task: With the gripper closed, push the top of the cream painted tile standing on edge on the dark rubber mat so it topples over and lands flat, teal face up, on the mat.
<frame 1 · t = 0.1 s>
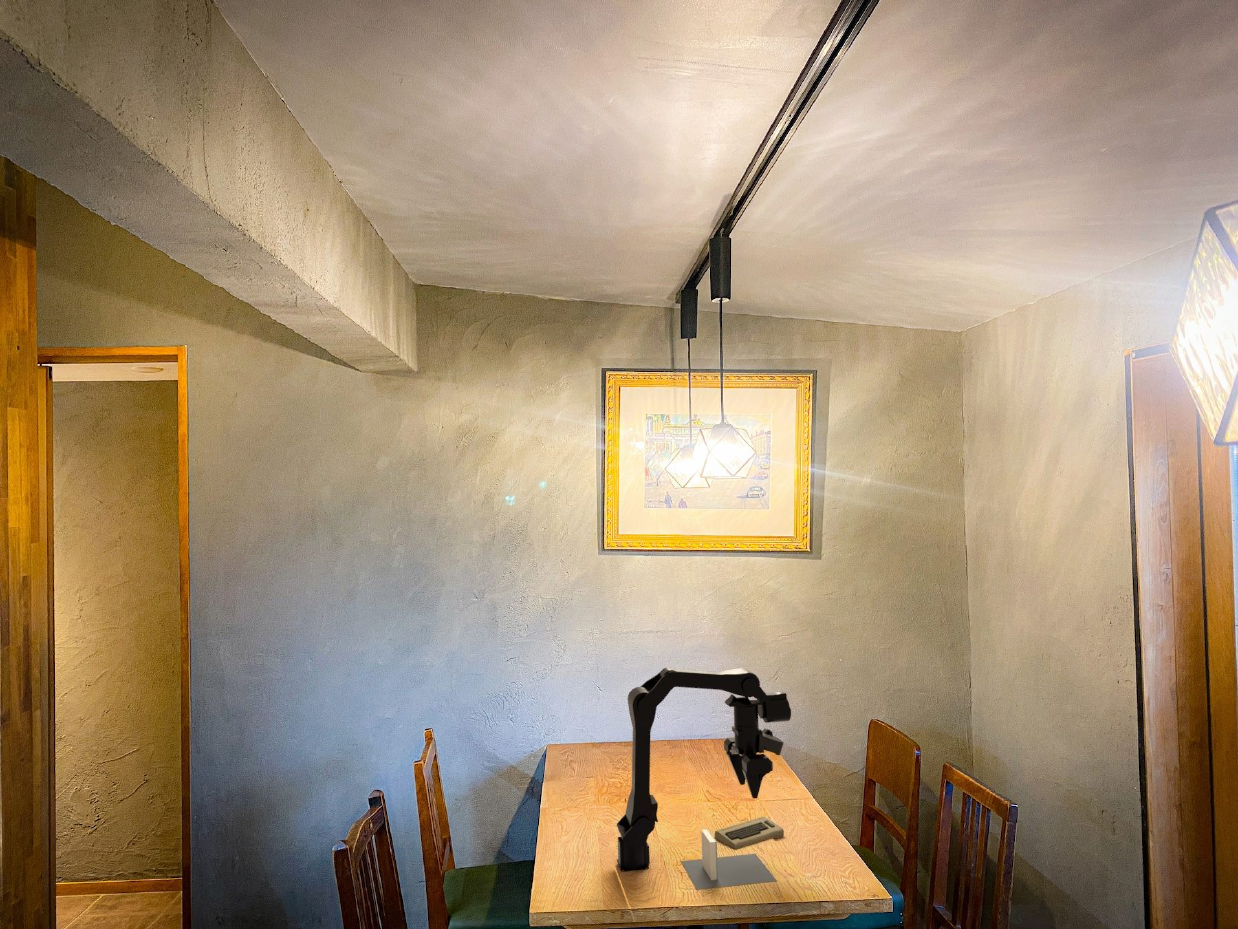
hand: (748, 791, 184), 15 cm above the table, fingers open, 9 cm apart
computer: (749, 841, 192), on the table
mat: (727, 873, 174), on the table
tile: (710, 872, 173), point 1 cm above the table, touching mat
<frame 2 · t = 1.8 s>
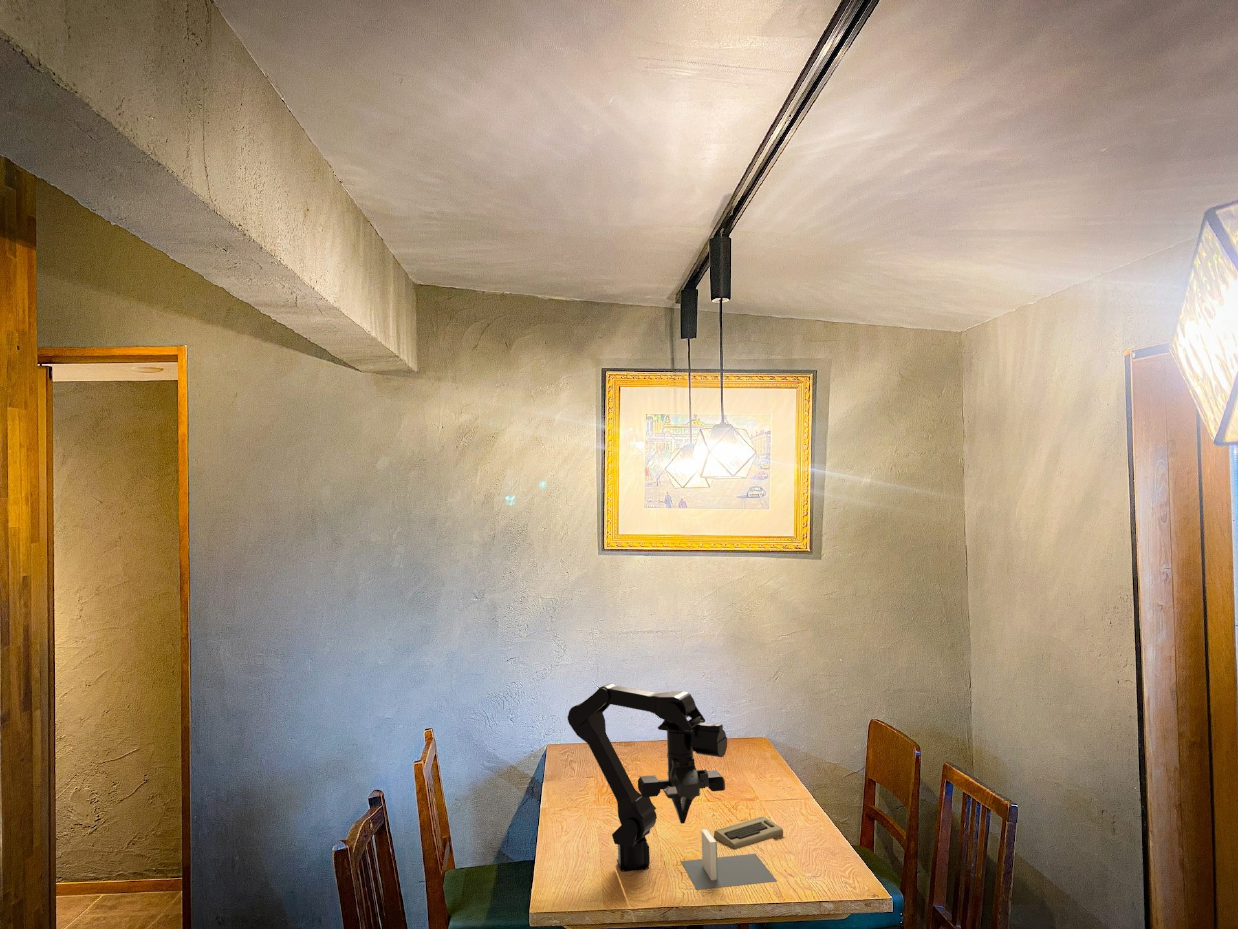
hand: (682, 823, 173), 12 cm above the table, fingers closed
nothing on the table moved.
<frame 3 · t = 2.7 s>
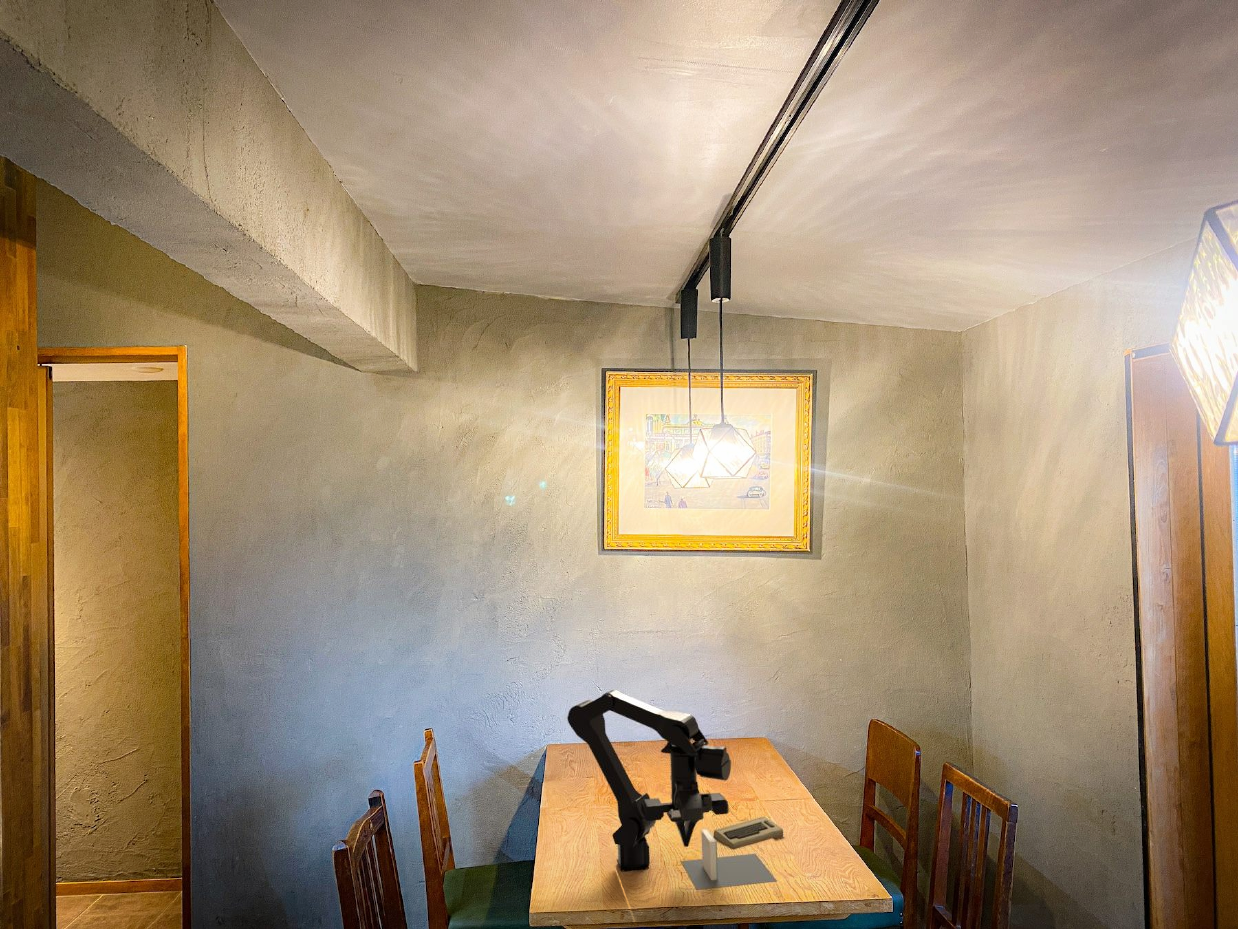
hand: (685, 846, 173), 7 cm above the table, fingers closed
nothing on the table moved.
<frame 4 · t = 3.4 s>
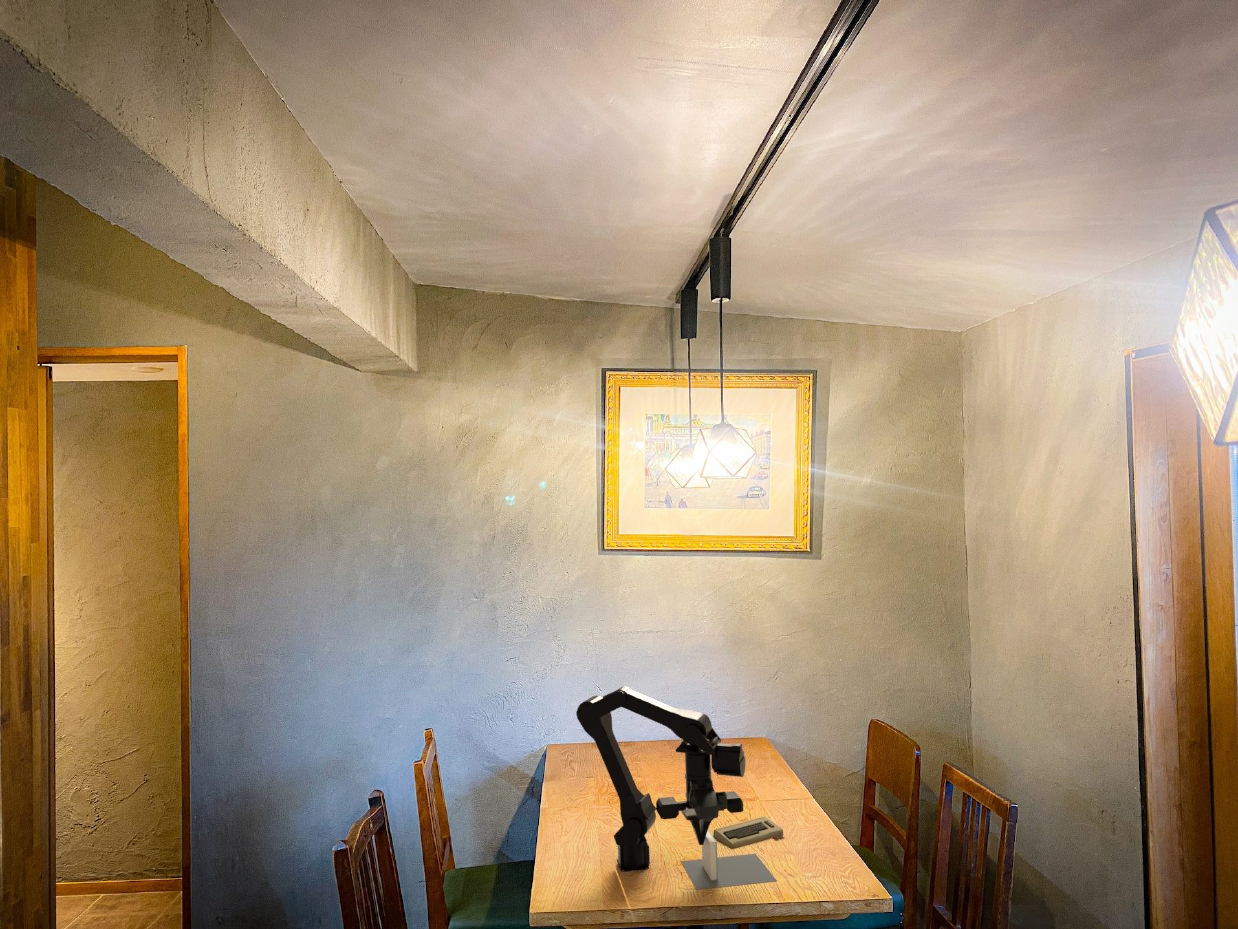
hand: (700, 844, 173), 7 cm above the table, fingers closed
tile: (710, 872, 173), point 1 cm above the table, touching gripper, mat
everything else where it was.
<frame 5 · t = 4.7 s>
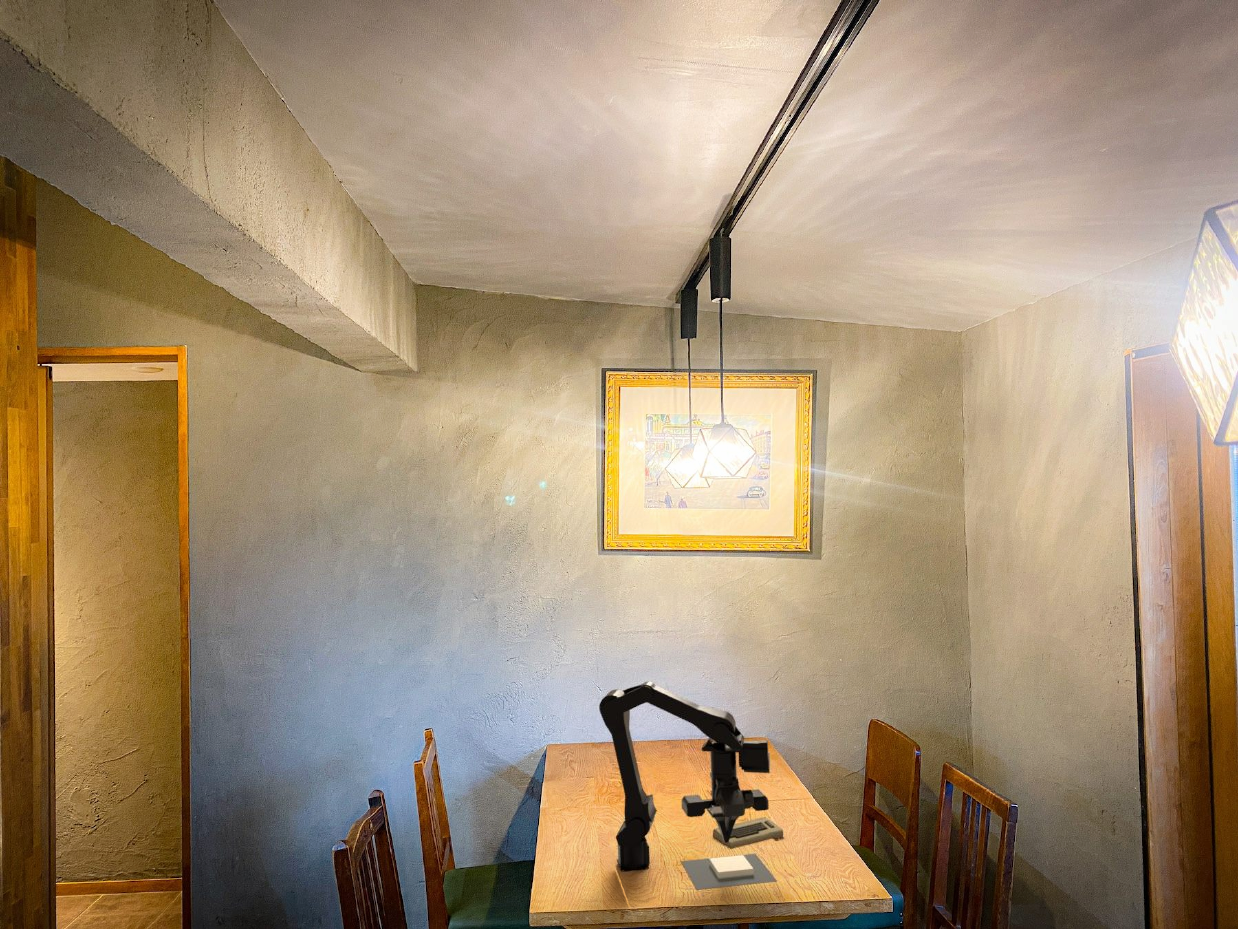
hand: (726, 842, 174), 7 cm above the table, fingers closed
tile: (713, 868, 173), point 1 cm above the table, tilted 90°, touching mat
everything else where it was.
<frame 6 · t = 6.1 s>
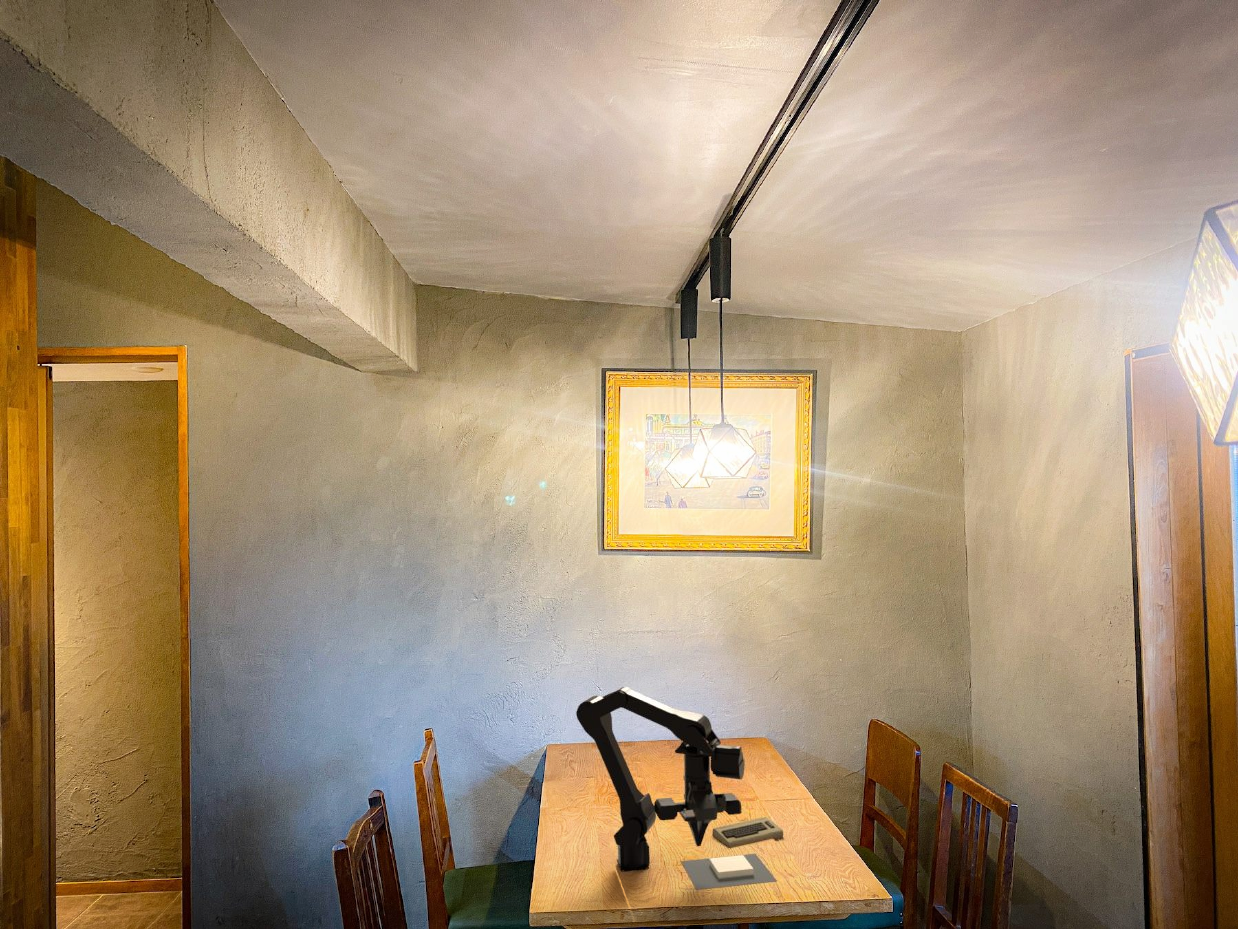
hand: (698, 845, 173), 7 cm above the table, fingers closed
nothing on the table moved.
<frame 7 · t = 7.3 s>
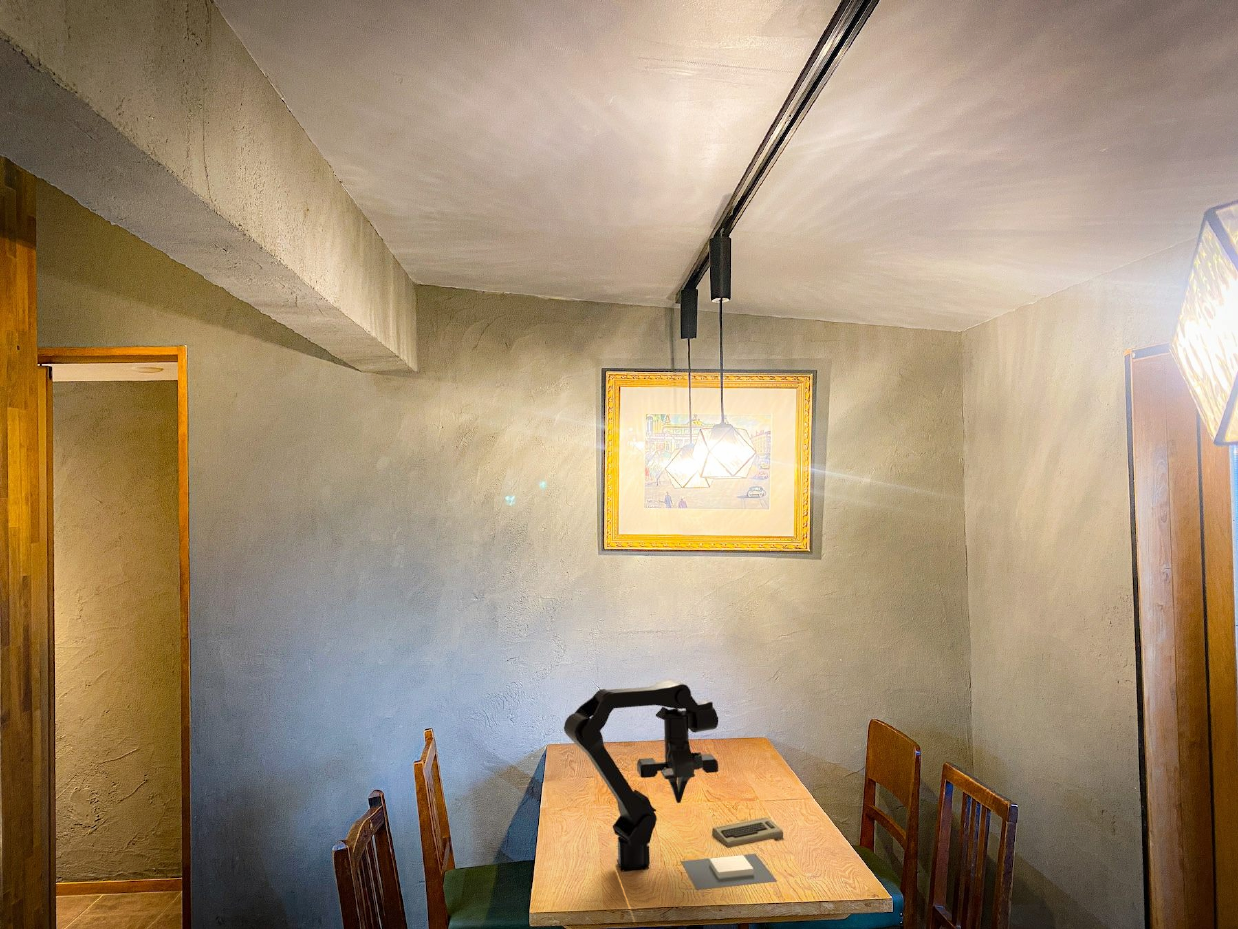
hand: (678, 802, 185), 12 cm above the table, fingers closed
nothing on the table moved.
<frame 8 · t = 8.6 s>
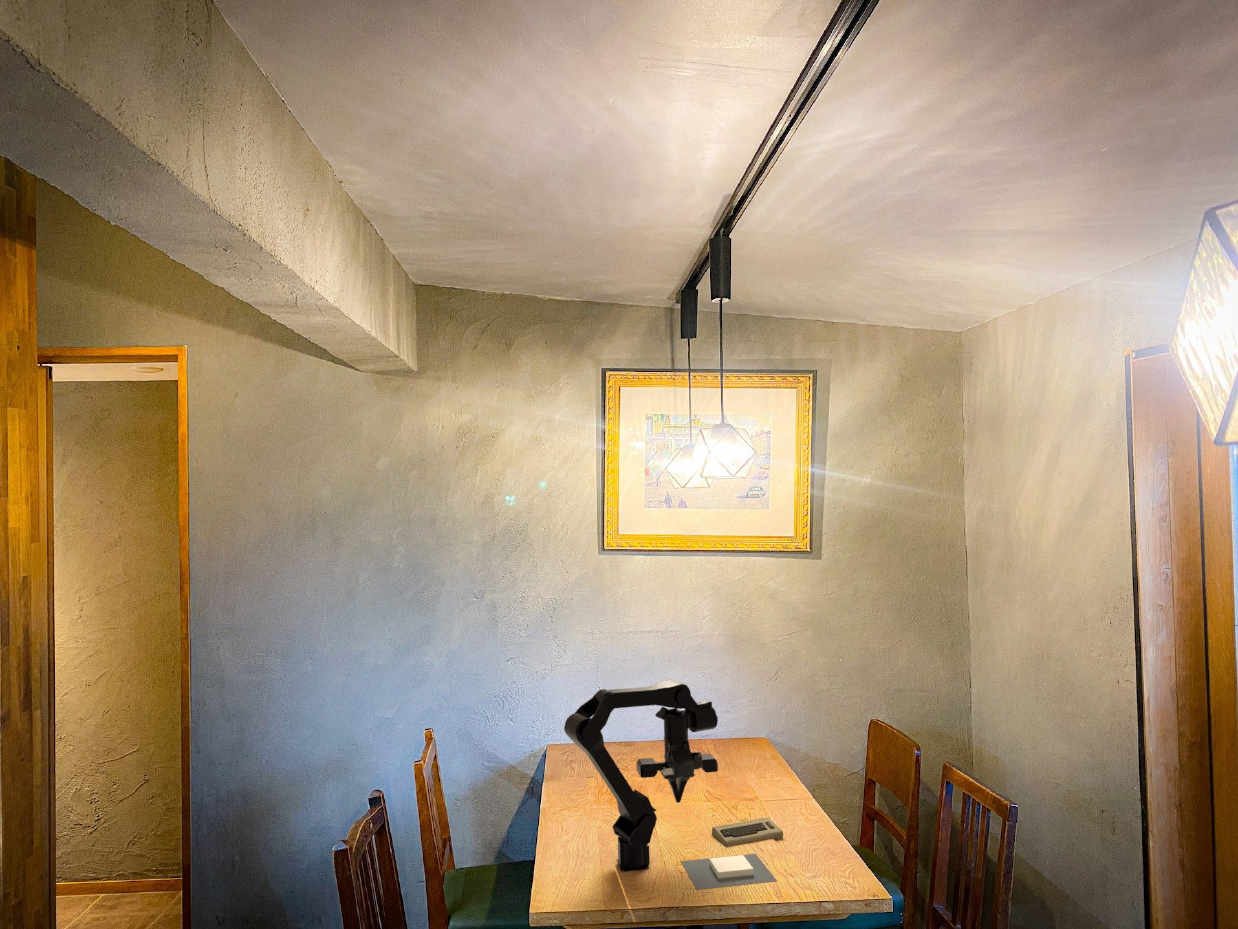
hand: (678, 802, 185), 12 cm above the table, fingers closed
at the end: tile tilted 90°; tile inside the target area on the mat (3.1 cm from its centre), point 1.3 cm above the mat's base; the gripper is holding nothing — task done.
